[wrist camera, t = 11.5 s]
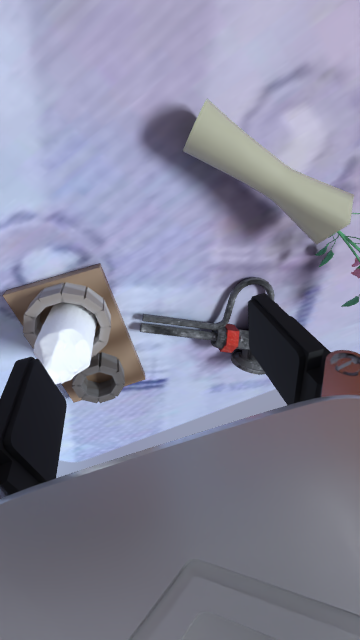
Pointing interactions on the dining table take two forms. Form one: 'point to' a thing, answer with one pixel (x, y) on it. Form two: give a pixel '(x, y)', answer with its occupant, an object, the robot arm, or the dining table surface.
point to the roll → (66, 341)
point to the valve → (216, 330)
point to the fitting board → (110, 334)
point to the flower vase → (273, 179)
